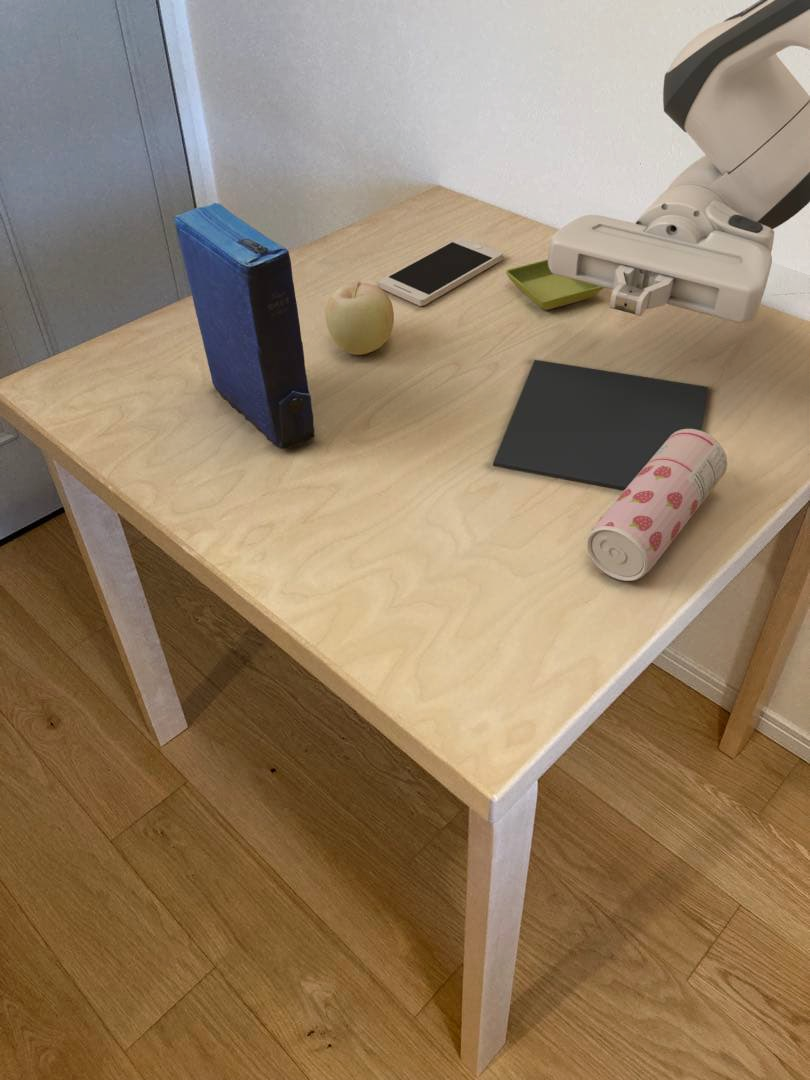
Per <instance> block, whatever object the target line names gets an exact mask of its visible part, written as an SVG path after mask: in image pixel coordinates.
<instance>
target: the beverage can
mask: <svg viewBox="0 0 810 1080" xmlns="http://www.w3.org/2000/svg"><path fill="white" fill-rule="evenodd" d="M727 468H728V457H727V453H726V451H725V450H724V448H723V446H722V445H721V444H720V442H719V441H718V440H717V439H716V438H714V437H713V436H712V435H711V434H709V433H707V432H705V431H703V430H702V431H700V430H695V429H682V430H679V431H676V432H675V433H673V434H672V435H671V436H670V437H669V438H668V439H667V441H666V442H665V443H664V444H663V445H662V446H661V448H660V449H659V450H658V451H657V452H656V454H655V455H654V456H653V457H652V458H651V459H650V461H649V462H648V463H647V464H646V465H645V466H644V468H643V469H642V470H641V471H640V472H639V474H638V475H637V476H636V477H635V478H634V479H633V481H632V482H631V483H630V484H629V485H628V487H627V488H626V489H625V490H622V492H621V493H620V495H619V496H618V497H617V498H616V499H615V501H614V502H613V503H612V504H611V505H610V506H609V508H608V509H607V510H606V511H605V512H604V514H603V515H602V516H601V517H600V518H599V520H598V521H597V522H596V523H595V524H594V525H593V527H592V528H591V531H590V533H589V534H588V537H587V541H586V546H587V547H586V548H587V552H588V555H589V557H590V558H591V560H592V562H593V563H594V565H596V566H597V568H598V569H599V570H601V571H602V572H603V573H605V574H606V575H607V576H609V577H612V578H613V579H616V580H619V581H625V582H629V581H630V582H631V581H635V580H639V579H641V578H642V577H644V576H645V574H647V573H649V572H650V571H651V570H652V568H654V566H655V565H656V563H657V562H658V561H659V560H660V558H661V557H662V555H663V554H664V553H665V551H666V550H667V549H668V548H669V546H670V545H671V544H672V542H673V541H674V540H675V538H676V537H678V535H679V533H680V532H681V531H682V530H683V528H684V527H685V526H686V525H687V523H688V522H689V520H691V518H692V516H693V515H695V513H696V511H697V510H698V509H699V507H700V506H701V505H702V504H703V502H704V501H705V500H706V498H707V497H708V496H709V494H710V493H711V492H712V491H713V489H714V488H715V487H716V486H717V484H718V483H719V482H720V481H721V479H722V478H723V476H724V475H725V473H726V471H727Z"/></svg>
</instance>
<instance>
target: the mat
mask: <svg viewBox="0 0 810 1080" xmlns="http://www.w3.org/2000/svg"><path fill="white" fill-rule="evenodd" d="M708 391H709V387H708V386H706V385H699V384H692V383H687V382H679V381H673V380H667V379H661V378H654V377H648V376H641V375H634V374H629V373H622V372H615V371H610V370H604V369H596V368H590V367H584V366H577V365H572V364H564V363H558V362H553V361H545V360H541V359H540V360H539V359H534V360H533V362H532V364H531V367H530V370H529V373H528V376H527V378H526V380H525V383H524V385H523V387H522V390H521V391H520V392H521V393H520V395H519V397H518V400H517V403H516V404H515V408H514V410H513V412H512V415H511V418H510V420H509V422H508V425H507V426H506V427H507V428H506V430H505V432H504V435H503V438H502V440H501V442H500V445H499V448H498V450H497V452H496V455H495V457H494V459H493V463H492V466H493V467H498V468H504V469H508V470H513V471H519V472H525V473H526V472H527V473H530V474H536V475H539V476H541V475H542V476H545V477H550V478H551V477H552V478H556V479H562V480H567V481H572V482H578V483H583V484H589V485H595V486H598V487H599V486H600V487H604V488H610V489H615V490H621V491H624V490H625V489H626V488H627V487H628V485H629V484H630V483H631V482H632V481H633V479H634V478H635V477H636V476H637V475H638V474H639V472H640V471H641V470H642V469H643V468H644V466H645V465H646V464H647V463H648V462H649V461H650V459H651V458H652V457H653V456H654V455H655V454H656V452H657V451H658V450H659V449H660V448H661V446H662V445H663V444H664V443H665V442H666V441H667V439H668V438H669V437H670V436H671V435H672V434H673V433H675V432H676V431H679V430H682V429H695V430H700V431H702V432H703V423H704V417H705V411H706V404H707V397H708Z"/></svg>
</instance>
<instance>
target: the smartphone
mask: <svg viewBox="0 0 810 1080" xmlns="http://www.w3.org/2000/svg"><path fill="white" fill-rule="evenodd" d="M503 259H504V252H503V251H500V250H498V249H496V248H493V247H491V246H487V245H485V244H482V243H480V242H478V241H474V240H473V239H469V238H466V237H464V236H459V237H457V238H454V239H453V240H451V241H450V242H447V243H445V244H444V245H442V246H440V247H439V248H437V249H435V250H433V251H431V252H429V253H428V254H426V255H424V256H421V257H420V258H418V259H416V260H414V261H413V262H411V263H409V264H407V265H405V266H404V267H402V268H399V269H398V270H396V271H394V272H392V273H390V274H388V275H387V276H385V277H383V278H381V279H380V280H379V281H378V283H379V285H378V287H379V288H380V289H382V290H383V291H385V292H388V293H390V294H392V295H395V296H397V297H399V298H401V299H404V300H406V301H407V302H410V303H413V304H415V305H416V306H419V307H423V306H426V305H427V304H429V303H431V302H433V301H435V300H436V299H438V298H439V297H441V296H444V294H447V293H448V292H450V291H452V290H453V289H455V288H456V287H458V286H460V285H462V284H463V283H465V282H467V281H469V280H470V279H472V278H474V277H476V276H477V275H479V274H481V273H483V272H485V270H487V269H489V268H491V267H493V266H494V265H496V264H498V263H500V262H501V261H502V260H503Z"/></svg>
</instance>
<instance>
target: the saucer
mask: <svg viewBox="0 0 810 1080" xmlns="http://www.w3.org/2000/svg"><path fill="white" fill-rule="evenodd" d="M505 274H506V275H507V277H508V278H509V280H510V281H511V282H512V284H514V286H515V287H516V288H517V289H518V290H520V291H521V292H522V293H523V294H525V295H526V296H527V298H529V299H530V300H531V301H533V302H534V303H535V304H536V305H538V307H540V308H541V309H542V310H543V311H549V310H553V309H556V308H560V307H563V306H567V305H570V304H574V303H578V302H581V301H585V300H588V299H591V298H592V297H594V296H595V295H597V294H598V293H599V292H601V291H602V290H603V289H604V287H600V286H596V285H593V284H589V283H585V282H581V281H578V280H574V279H570V278H566V277H562V276H558V275H555V274H553V273H552V272H551V271H550V269H549V266H548V258H547V259H542V260H540V261H536V262H533V263H528V264H524V265H520V266H516V267H512V268H509V269H506V270H505Z"/></svg>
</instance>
